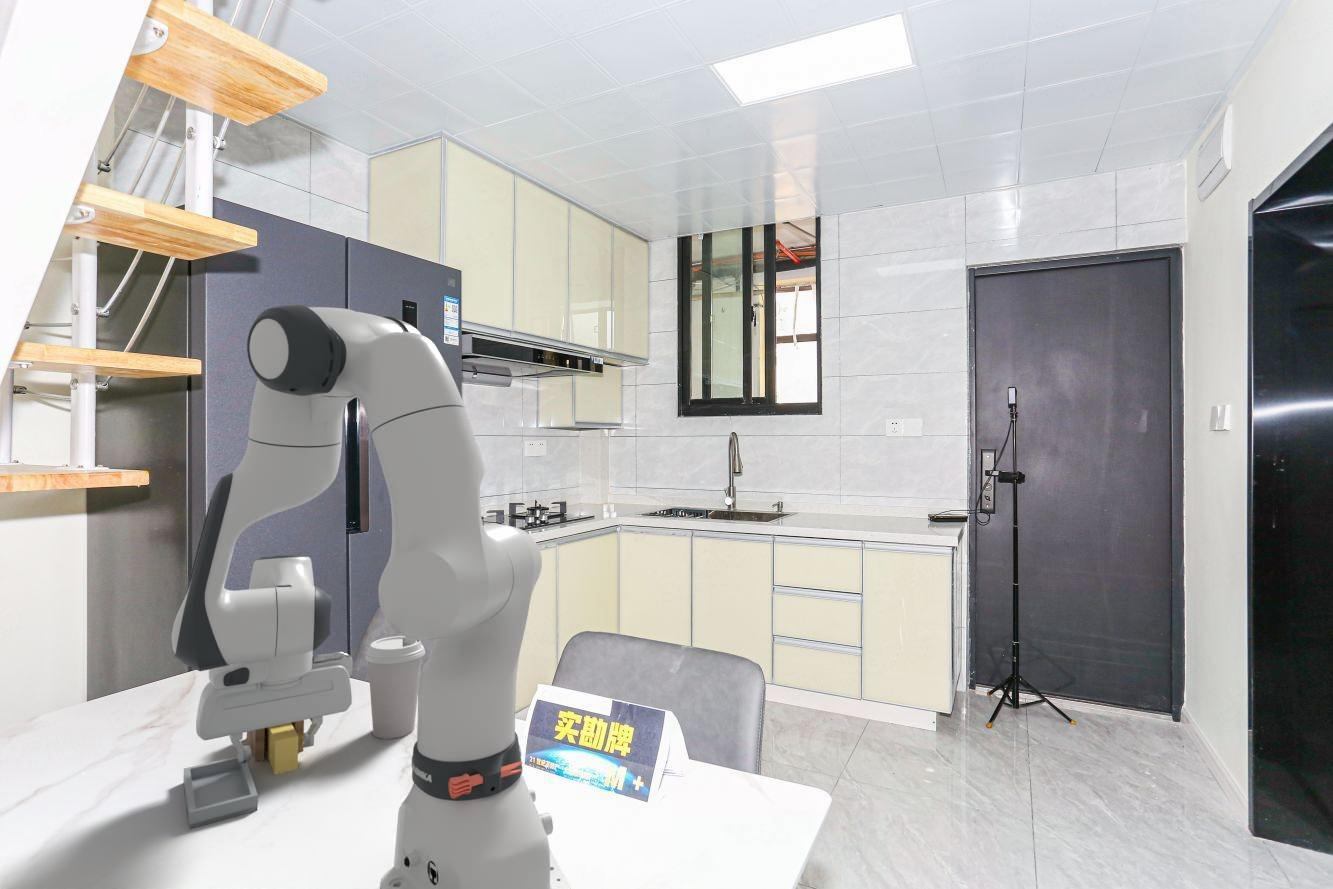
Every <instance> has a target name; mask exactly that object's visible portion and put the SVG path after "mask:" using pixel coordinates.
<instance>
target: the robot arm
mask: <svg viewBox="0 0 1333 889" xmlns="http://www.w3.org/2000/svg"><path fill="white" fill-rule="evenodd" d="M246 351H247V352H246V353H247V358H248V361H249V365H250V367H251V369H252V372H253V373H254V374H255V376H256V377H257V380H256V385H255V388H254V393H253V398H252V402H251V407H250V408H251V409H250V414H249V423H248V425H249V426H248V436H247V437H248V438H247V440H248V441H247V447H246V450H245V454H244V456H243V458H242V460H241V461H240V463H239V464H238V465H237V467H236V468H235V469H234V470H233V472H230V473H228V474H226V475H223V476H221V477H220V479H219V480H218V481H217V483H216V485H215V487H214V488H213V492H212V495H211V496H210V497H211V498H210V501H209V504H208V508H207V511H206V515H205V519H204V520H203V525H202V529H201V533H200V534H199V536H200V537H199V539H198V546H197V548H196V552H195V555H194V560H193V563H192V567H191V572H190V575H189V582H188V584H187V589H186V592H185V596H184V599H183V601H182V603H181V604H180V605H181V606H180V607H179V609H178V612H177V614H176V616H175V619H174V622H173V626H172V631H171V645H172V650H173V652H174V657H175V658H176V659H177V660H178V661H180V662H181V663H183V664H185V665H186V666H187V667H189V668H192V669H193V670H196V671H198V672H204V671H208V679H209V680H208V681H209V682H208V683H207V684H206V685H205V686H204V687H203V690H202V692H201V694H200V698H199V702H198V708H197V714H196V721H195V724H196V725H195V731H196V735H197V737H198V738H200V739H201V740H203V741H209V740H215V739H219V738H224V737H228V736H229V740H230V742H231V743H232V745H233V746H234V748H235V749H236V750H237V756H238V762H239V763H241V762H245V761H247V762H249V761H251V760H252V752H251V748H250V745H249V744H246V745H243V744H242V742H241V741H242V740H243V735H244V733H247V732H249V731H253V730H258V729H263V728H268V727H273V726H277V725H282V724H287V723H292V722H297V721H301V720H304V721H305V720H310V722H311V724H310V725H309V727H308V730H307V731H306V732H304V733H301V738H302V740H301V745H302V746H303V749H305V748H309V747H310V748H311V747H313V746H314V745H315V736H316V734H317V733H318V731H319V730H320V728H321V726H322V725H323V720H324V719H323V718H324V716H329V715H334V714H338V713H344V712H346V711H348V710H349V709H350V707H351V705H352V704H353V701H352V698H353V697H352V696H353V694H352V686H351V680H350V676H351V675H352V673H353V670H354V661H353V660H354V659H353V657H352V656H351V655H350V654H347V653H344V651H335V652H332V653H322V654H314V653H313V652H314V651H315V650H317V649H318V648H319V647H320V646H321V645H322V644H323V643H324V642H325V641H326V640H327V639H328V638H329V636H330V635H331V609H332V600H333V599H332V596H331V595H330V594H328V593H327V592H326V591H324V590H323V589H321V588H320V587H318V586H316V585H314V584H315V583H314V582H315V581H314V572H313V563H312V559H311V557H309V556H307V555H306V554H299V553H298V554H279V555H266V556H262V557H260V558H258V559H256V560H254V562H253V566H252V570H251V574H250V581H249V585H248V589H239V590H232V589H231V590H230V589H227V588H225V586H226V580H227V578H228V574H229V569H230V565H231V561H232V558H233V554H234V550H235V546H236V543H237V540H238V539H239V537H240V535H241V534H242V533H243V531H245V530H246V529H248V527H250V526H252V525H253V524H255V523H257V522H259V521H261V520H263V519H265V518H268V517H271V516H273V515H275V514H278V513H281V512H285V511H287V510H290V509H294V508H296V507H299V506H302V505H304V504H306V503H308V502H310V501H312V500H313V499H316V498H317V497H318V496H320V495H321V494H323V493H324V492H325V491H326V490H327V489H328V488H329V487H330V486H331V485H332V484H333V482H334V481H335V479H336V477H337V476H338V471H339V468H340V462H341V457H342V456H341V455H342V448H343V446H342V445H343V417H344V411H345V408H346V406H347V405H348V404H349V402H351V401H352V400H353V399H355V398H358V399H359V401H360V403H361V404H362V407H363V410H364V413H365V417H366V420H367V423H368V428H369V430H370V434H371V437H372V440H373V443H374V446H375V450H376V453H377V456H378V459H379V463H380V466H381V469H382V472H383V476H384V480H385V483H386V486H387V491H388V496H389V500H390V507H391V508H390V509H391V534H392V535H391V546H390V547H391V548H390V555H389V558H388V561H387V564H386V566H385V567H384V570H383V571H382V573H381V575H380V579H379V582H378V591H377V594H378V604H379V606H380V607H379V608H380V610H381V613H382V615H383V617H384V619H385V621H386V622H387V623H388V625H389V626H390V627H391V628H392V629H393V630H394V631H395V632H396V633H398V634H399V635H400V636H404V637H407V638H410V639H413V640H420V641H429V640H431V641H432V640H435V641H434V644H433V647H432V650H431V652H430V654H429V656H428V658H427V661H426V662H425V664H424V665H423V667H422V669H421V671H420V678H419V683H418V698H417V726H416V728H417V730H416V732H417V734H416V735H417V738H416V742H415V743H414V745H413V748H412V750H413V751H412V755H411V765H410V766H411V771H412V773H411V779H412V781H413V784H412V786H411V789H410V791H409V793H408V794H407V796H406V798H405V799H404V800H403V802H402V803H401V804H400V806H399V808H398V813H397V814H398V815H397V824H396V836H395V846H394V858H393V859H394V860H393V867H392V868H390V869H389V870H388V871H387V872H386V873H385V874H384V875H383V876H382V878H381V879H380V882H379V889H571V888H572V887H571V886H570V883H569V882H568V880H567V878H566V877H565V874H564V873H563V870H562V868H561V867H560V865H559V863H558V861H557V860H556V858H555V856H554V854H553V853H552V850H551V849H550V844H549V838H548V836H549V835H552V833H553V831H554V824H553V817H552V815H551V814H550V812H544V813H541V814H539V813H538V810H537V806H536V805H535V802H536V791H535V790H534V789H529V788H528V785H527V783H526V781H525V779H524V778H525V777H524V776H523V761H522V750H521V746H520V743H519V735H518V733H517V732H516V707H517V706H516V704H517V702H516V701H517V700H516V699H517V698H516V697H517V676H518V668H519V667H518V666H519V659H520V654H521V650H522V644H523V641H524V634H525V630H526V626H527V620H528V615H529V610H530V609H529V608H530V604H531V600H532V595H533V592H534V589H535V586H536V583H537V581H538V579H539V577H540V576H541V572H542V571H541V570H542V566H543V565H542V564H543V563H542V560H543V559H542V553H541V549H540V548H539V545H538V544H537V542H536V540H535V538H533V537H532V536H531V535H530V534H529V533H528V532H526V531H525V530H523V529H522V528H518V527H516V526H511V525H506V524H500V523H489V524H488V523H487V524H484V525H483V520H482V513H481V512H482V511H481V510H482V509H481V497H480V496H481V485H482V484H481V483H482V480H483V478H484V474H485V464H484V461H483V458H482V456H481V452H480V449H479V446H478V442H477V440H476V438H475V434H474V431H473V429H472V425H471V423H470V419H469V416H468V413H467V410H466V407H465V405H464V401H463V398H462V396H461V394H460V391H459V389H458V386H457V383H456V382H455V379H454V378H453V375H452V373H451V371H450V369H449V366H448V365H447V363H446V360H444V357H443V356H442V354H441V352H440V351H439V349H438V347H437V346H436V344H435V343H434V342H433V341H432V340H431V339H430V338H428V337H426V336H425V335H423V334H421V332H420V331H419V330H418V329H417V328H416V327H414V326H413V325H412V324H410V323H407V322H406V321H404V320H401V319H398V318H396V317H395V318H394V317H393V316H379V315H376V314H372V313H366V312H360V311H355V310H353V309H349V308H344V307H343V308H340V307H328V306H327V307H326V306H325V307H324V306H310V307H309V306H308V307H307V306H305V305H301V304H288V305H287V304H286V305H280V306H274V307H270V308H268V309H267V308H266V309H265V310H264V311H262V312H261V313H260V314H259V315H258V316H257V317H256V318H255V320H254V321H253V324H252V325H251V327H250V330H249V332H248V336H247V343H246ZM313 654H314V655H313Z"/></svg>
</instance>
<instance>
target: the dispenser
mask: <svg viewBox="0 0 1333 889" xmlns="http://www.w3.org/2000/svg"><path fill="white" fill-rule="evenodd" d="M291 724H292V725H293V727H294V729H295V731H296V733H297V735H298V753H299V752H303V751H304V748H303V746H302V745H301V740H302V738H301V733H305V720H301V721H297V722H292V723H291ZM246 740H247V745H250V748H251V756H252V757H253V760H254V762H255V763H256V762H260V761H264V760H265V728H263V729H258V730H253V731H249V732H246Z"/></svg>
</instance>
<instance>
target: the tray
mask: <svg viewBox="0 0 1333 889" xmlns="http://www.w3.org/2000/svg"><path fill="white" fill-rule="evenodd" d="M183 789H184V797H185V798H184V799H185V806H186V814H187V822H188V829H189V830H190V829H193V828H197V827H201V826H204V825H209V824H211V823H215V822H219V821H222V820H227V819H231V818H233V817H237V816H240V815H244V814H249V813H252V812H255V811H258V804H259V803H258V802H259V800H258V799H259V797H258V796H259V795H258V792H257V788H256V785H255V782H254V779H253V776H252V772H251V771H250V767H249V764H248V761H245V762H241V763H239V762H238V755H237V756H233V757H229V758H223V759H220V760H216V761H210V762H206V763H203V764H198V765H193V766H188V767H186V768H183Z"/></svg>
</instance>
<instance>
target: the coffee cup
mask: <svg viewBox="0 0 1333 889" xmlns="http://www.w3.org/2000/svg"><path fill="white" fill-rule="evenodd" d="M421 641H422V640H413V639H410V638H407V637H404V636H403V635H398V636H397V635H395V636H388V637H387V636H386V637H383V638H380V639H376V640H374V641H372V642H371V643H370V645H369V648H368V649H367V650H366V652H365V655H364V659H365V661H367V664H368V665H367V667H368V679H369V681H368V682H369V693H370V705H371V707H370V708H371V719H372V721H371V722H372V732H373V736H374V737H376V738H379V739H386V740H387V739H396V738H401V737H405V736H407V735H409V734H411V733H412V732H413V731H414V730H415V726H416V725H415V724H416V715H417V714H416V713H417V708H418V683H419V678H420V675H421V671H422V669H421V668H422V662H423V661H422V660H423V656H425V654H426V650H425V647H424V645H423V644H422V642H421Z"/></svg>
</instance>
